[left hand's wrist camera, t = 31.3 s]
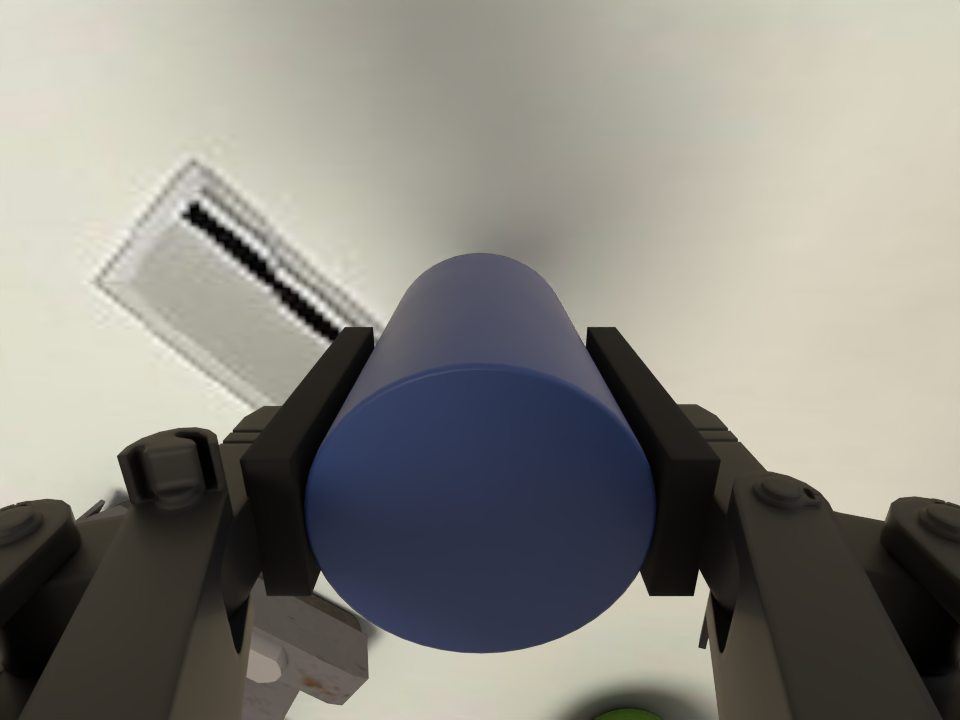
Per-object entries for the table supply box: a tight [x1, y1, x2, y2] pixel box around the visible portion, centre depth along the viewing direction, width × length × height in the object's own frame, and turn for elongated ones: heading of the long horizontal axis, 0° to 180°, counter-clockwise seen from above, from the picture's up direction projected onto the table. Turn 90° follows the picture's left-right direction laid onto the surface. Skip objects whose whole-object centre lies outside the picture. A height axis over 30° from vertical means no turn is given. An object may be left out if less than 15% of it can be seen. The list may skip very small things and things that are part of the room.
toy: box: [76, 500, 369, 720], centre depth 40 cm, size 25×20×15 cm
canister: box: [304, 253, 657, 653], centre depth 13 cm, size 6×6×9 cm
